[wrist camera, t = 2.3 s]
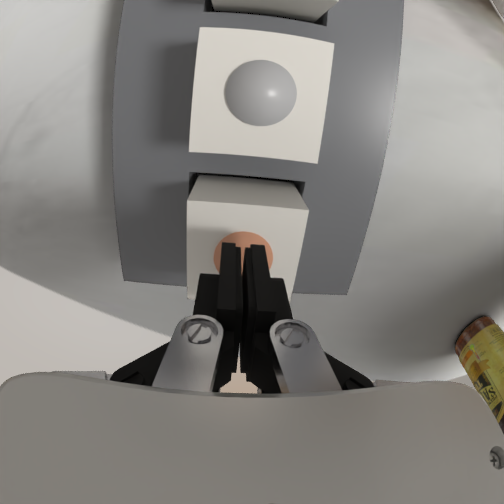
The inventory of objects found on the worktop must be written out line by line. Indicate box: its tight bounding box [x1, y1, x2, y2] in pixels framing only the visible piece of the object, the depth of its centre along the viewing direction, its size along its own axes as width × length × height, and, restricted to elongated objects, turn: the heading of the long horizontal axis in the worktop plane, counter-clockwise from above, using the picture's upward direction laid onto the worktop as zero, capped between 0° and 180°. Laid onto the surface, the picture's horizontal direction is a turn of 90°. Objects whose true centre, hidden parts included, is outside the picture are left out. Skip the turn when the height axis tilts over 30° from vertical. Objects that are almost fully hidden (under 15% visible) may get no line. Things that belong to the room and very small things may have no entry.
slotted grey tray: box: [112, 0, 404, 295], centre depth 14 cm, size 14×22×3 cm, turn 174°
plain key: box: [189, 27, 334, 164], centre depth 11 cm, size 5×5×4 cm
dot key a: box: [187, 175, 309, 304], centre depth 15 cm, size 5×5×4 cm
